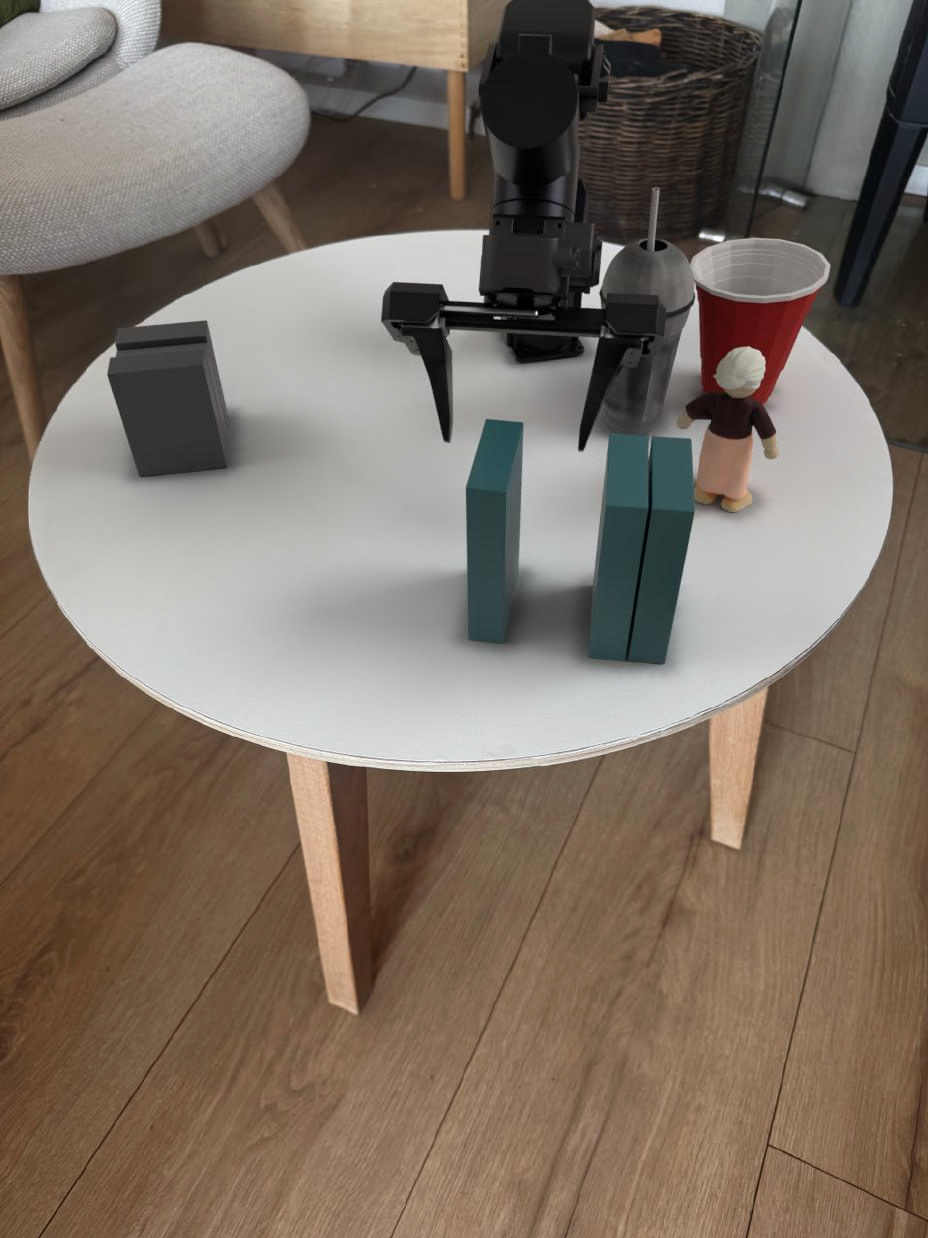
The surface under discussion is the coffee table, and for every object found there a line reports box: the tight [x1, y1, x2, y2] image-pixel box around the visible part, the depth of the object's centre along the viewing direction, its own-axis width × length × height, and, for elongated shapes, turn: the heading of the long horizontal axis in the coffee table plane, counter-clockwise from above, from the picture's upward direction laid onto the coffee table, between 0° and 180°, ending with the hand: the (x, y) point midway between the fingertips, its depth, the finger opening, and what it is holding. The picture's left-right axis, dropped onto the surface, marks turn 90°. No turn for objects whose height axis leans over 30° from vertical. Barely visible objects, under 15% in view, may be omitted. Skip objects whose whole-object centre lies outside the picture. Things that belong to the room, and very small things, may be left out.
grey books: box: [106, 319, 229, 478], centre depth 79 cm, size 7×8×10 cm
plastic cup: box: [689, 237, 831, 406], centre depth 82 cm, size 11×11×12 cm
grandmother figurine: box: [676, 346, 780, 513], centre depth 72 cm, size 8×4×13 cm, turn 71°
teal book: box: [465, 418, 525, 645], centre depth 64 cm, size 7×2×13 cm, turn 169°
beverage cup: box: [598, 187, 696, 436], centre depth 77 cm, size 7×7×20 cm
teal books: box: [588, 432, 696, 665], centre depth 63 cm, size 7×5×13 cm
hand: (513, 446), depth 68 cm, fingers open, 9 cm apart
